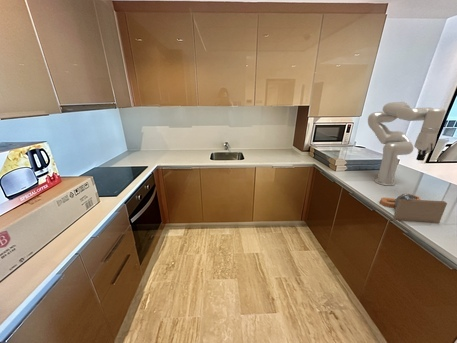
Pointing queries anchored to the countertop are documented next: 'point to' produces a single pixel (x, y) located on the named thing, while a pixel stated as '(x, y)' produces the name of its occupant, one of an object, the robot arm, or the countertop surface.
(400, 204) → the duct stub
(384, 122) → the robot arm
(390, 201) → the bracket
